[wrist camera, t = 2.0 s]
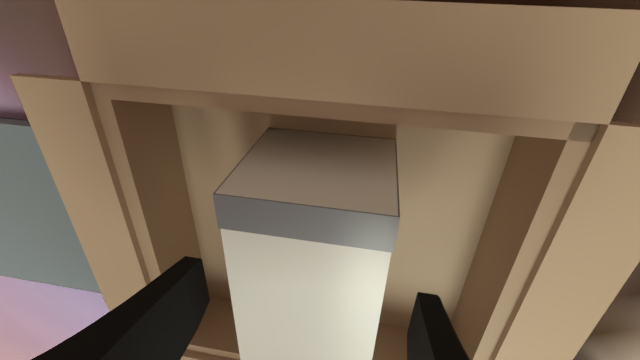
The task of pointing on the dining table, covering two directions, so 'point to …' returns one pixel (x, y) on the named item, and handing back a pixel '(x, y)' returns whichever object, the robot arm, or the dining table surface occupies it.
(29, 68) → the dining table surface
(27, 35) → the dining table surface
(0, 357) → the dining table surface
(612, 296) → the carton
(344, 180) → the box
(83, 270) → the mat
